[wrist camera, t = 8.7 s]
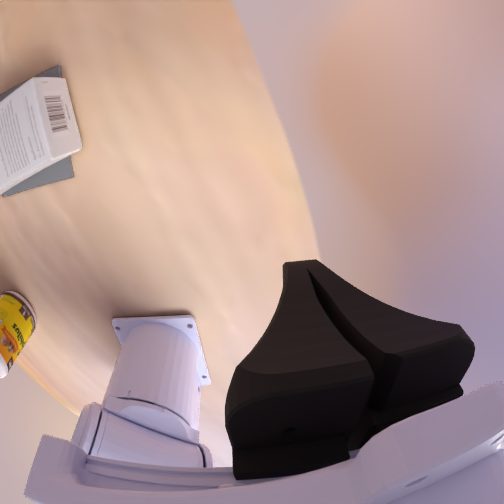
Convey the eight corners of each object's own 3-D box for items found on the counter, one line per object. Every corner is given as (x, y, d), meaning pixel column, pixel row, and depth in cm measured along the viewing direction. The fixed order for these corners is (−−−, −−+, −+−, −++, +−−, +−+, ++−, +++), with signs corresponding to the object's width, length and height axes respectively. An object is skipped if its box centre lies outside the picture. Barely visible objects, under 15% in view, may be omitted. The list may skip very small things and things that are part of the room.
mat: (74, 176, 19) (72, 177, 19) (4, 196, 19) (2, 197, 18) (60, 65, 15) (58, 65, 15) (-10, 102, 15) (-12, 102, 14)
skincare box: (68, 76, 15) (-23, 140, 16) (31, 74, 11) (-56, 151, 12) (86, 152, 18) (-7, 199, 19) (51, 165, 14) (-38, 218, 15)
